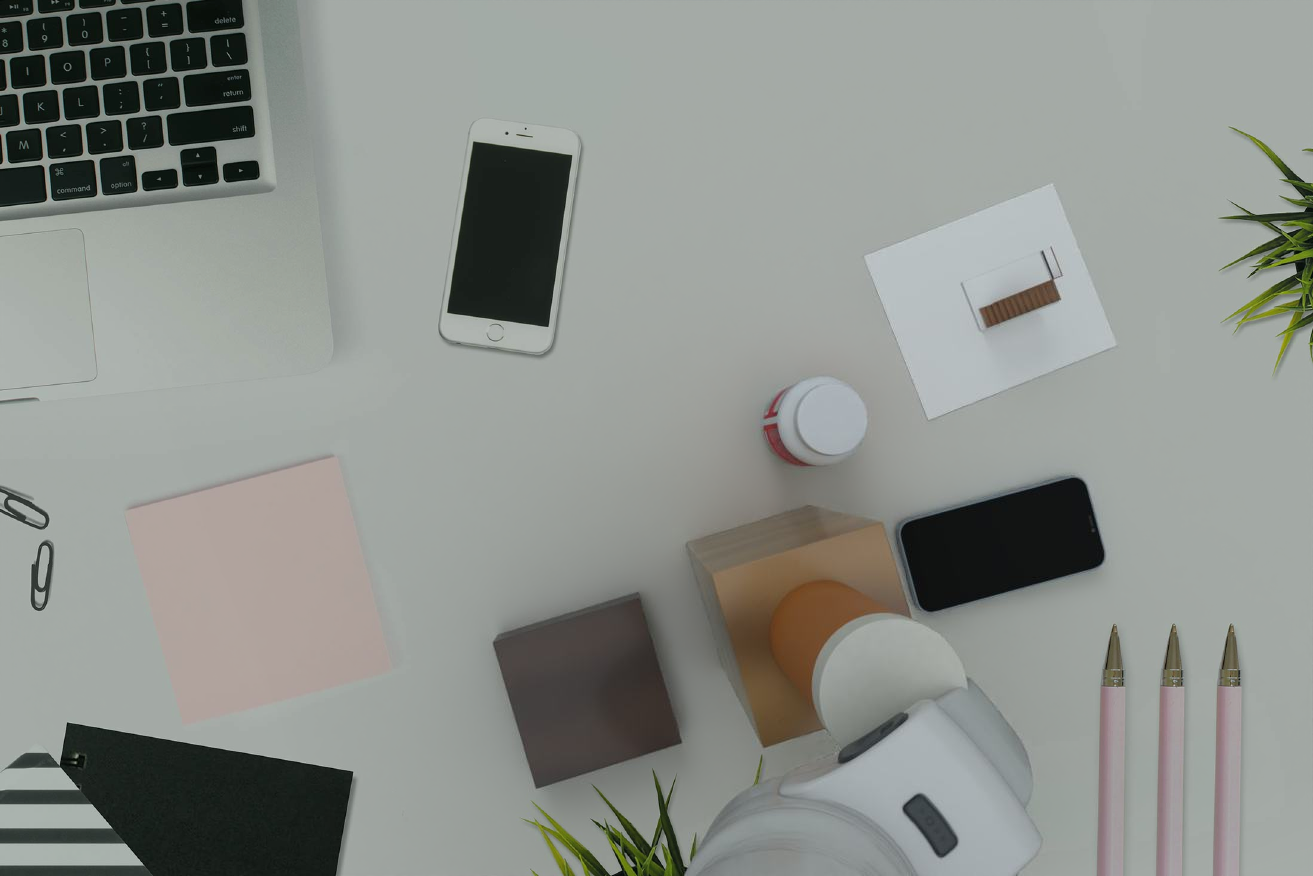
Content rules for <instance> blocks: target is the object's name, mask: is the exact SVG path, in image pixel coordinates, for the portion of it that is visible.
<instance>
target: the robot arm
mask: <svg viewBox="0 0 1313 876" xmlns="http://www.w3.org/2000/svg"><path fill="white" fill-rule="evenodd" d="M966 678H967V684H968V690H967V689H965V688H963V687H957V688H954V689H952V690H951V691H949V692H947V693H945V694H943V695H941V696H940V697H939V698H938V699H937V700H936V701H934V700H930V699H927V700H922V701H919V702H917V703H915V704H914V705H912V706H911V707H910V708H908V709H907V710H905V711H904V712H900V713H898V714H896V715H895V716H893V717H892V718H891V719H889V720H888V721H886V722H885V723H883V724H881V725H880V726H878V727H877V728H875V729H874V730H872V731H871V732H869V733H868V734H866V735H864V736H863V737H861V738H859V739H857V740H856V741H854V742H852V743H850V744H848V745H847V746H845V747H844V748H843V749H840V750H838V751H836V752H834V753H832V754H829V755H828V756H824V757H822V758H820V759H817V760H814V761H811V762H809V763H806V764H804V765H801V766H798V767H797V768H795V769H792V770H791V771H789V772H787V773H786V774H784V775H783V776H777V777H773V778H769V779H766V780H763V781H761V782H758V783H756V784H753V785H752V786H749V787H748V788H747V789H744V790H743V791H742V792H740V793H738V794H737V795H736V796H734V797H733V798H732V799H731V800H730V801H729V802H728V803H727V804H726V805H725V806H724V807H723V808H722V809H721V810H720V811H719V813H718V814H717V815H716V817H715V818H714V819H713V821H712V823H711V824H710V826H709V827H708V829H707V831H706V833H705V835H704V837H703V839H702V841H701V843H700V844H699V846H698V847H697V850H696V851H695V854H694V855H693V857H692V859H691V861H690V862H689V864H688V866H687V868H686V870H685V873H684V875H683V876H1019V874H1020V873H1021V872H1022V871H1023V870H1024V869H1025V868H1026V867H1027V866H1028V865H1030V863H1031V862H1032V861H1033V860H1034V859H1035V858H1036V857H1037V855H1038V854H1039V853H1040V851H1041V849H1042V847H1043V842H1044V841H1043V837H1042V834H1041V832H1040V831H1039V828H1038V827H1037V825H1036V824H1035V822H1034V820H1033V818H1032V817H1031V815H1030V814H1029V812H1028V811H1027V807H1028V805H1029V803H1030V801H1031V798H1032V796H1033V791H1034V776H1033V771H1032V766H1031V761H1030V758H1029V754H1028V752H1027V750H1026V748H1025V745H1024V744H1023V743H1024V742H1023V741H1022V739H1021V738H1020V737H1019V735H1018V734H1017V732H1016V731H1015V729H1014V728H1013V727H1012V726H1011V724H1010V723H1009V722H1008V720H1007V719H1006V718H1005V716H1004V715H1003V714H1002V713H1001V711H1000V710H999V709H998V707H997V706H996V705H995V704H994V702H993V701H992V700H991V699H990V698H989V697H988V695H986V693H985V692H984V690H982V688H981V687H980V686H979V684H978V683H976V682H975V681H974V679H972V678H971V676H966Z"/></svg>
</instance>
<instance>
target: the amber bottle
mask: <svg viewBox="0 0 1313 876" xmlns="http://www.w3.org/2000/svg"><path fill="white" fill-rule="evenodd" d="M770 645H771V649H772V653H773V655H774V658H775V660H776V662H777V664H778V665H779V666H780V668H781V669H782V671H783V672H784V673H785V674H786V676H787V677H788V678H789V680H790V681H791V682H792V683H793V685H794V686H795V687H796V688H797V690H798V691H799V692H800V694H801V695H802V696H803V697H804V699H805V700H806V701H807V703H808V704H809V705H810V706H811V708H812V709H813V710H814V711H815V713H816V714H817V715H818V717H819V719H820V721H821V723H822V725H823V726H824V728H825V729H824V730H825V731H826V732H827V734H828V735H829V736H830V737H831V739H832V740H833V741H834V742H835V744H836V745H837V746H838V747H839V748H840V750H842V749H843V748H844V747H845V746H847V745H848V744H850V743H852V742H854V741H856V740H857V739H859V738H861V737H863V736H864V735H866V734H868V733H869V732H871V731H872V730H874V729H875V728H877V727H878V726H880V725H881V724H883V723H885V722H886V721H888V720H889V719H891V718H892V717H893V716H895V715H896V714H898V713H900V712H904V711H905V710H907V709H908V708H910V707H911V706H912V705H914V704H915V703H917V702H919V701H922V700H927V699H930V700H934V701H936V700H937V699H938V698H939V697H940V696H941V695H943V694H945V693H947V692H949V691H951V690H952V689H954V688H957V687H963V688H965V689H967V690H968V684H967V678H966V677H967V674H966V672H965V668H964V666H963V663H962V661H961V659H960V657H959V655H958V653H957V652H956V651H955V649H954V647H953V646H952V645H951V644H950V643H949V642H948V641H947V640H946V639H945V638H944V637H943V636H942V635H941V634H940V633H938V632H937V631H935V630H934V629H932V628H931V627H928V626H927V625H926V624H923V623H921V622H920V621H918V620H916V619H913V618H912V619H911V618H909V617H906V616H902V615H900V614H898V613H896V612H895V611H893V610H891V609H889V608H887V607H885V606H884V605H882V604H880V603H878V602H876V601H874V600H873V599H871V598H869V597H867V596H865V595H863V594H862V593H860V592H858V591H856V590H854V589H852V588H851V587H849V586H847V585H844V584H842V583H839V582H835V581H829V580H819V581H813V582H808V583H806V584H803V585H801V586H799V587H797V588H795V589H794V590H792V591H791V592H790V593H789V594H787V595H786V596H785V597H784V598H783V600H782V601H781V602H780V603H779V605H778V607H777V608H776V610H775V612H774V615H773V618H772V621H771V625H770Z"/></svg>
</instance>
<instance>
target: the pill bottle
mask: <svg viewBox="0 0 1313 876" xmlns="http://www.w3.org/2000/svg"><path fill="white" fill-rule="evenodd" d="M868 417H869V416H868V411H867V407H866V405H865V403H864V401H863V400H862V398H861V397H860V395H859V394H858V392H857V391H856V390H855V389H854V388H853V387H851V385H850V384H848V383H847V382H845V381H843V380H840V379H838V378H835V377H831V376H823V375H821V376H812V377H809V378H805V379H803V380H801V381H799V382H797V383H795V384H792V385H790V386H788V387H786V388H784V389H783V390H781V391H779V392H778V393H777V394H775V395H774V396H773V397H772V398H771V399H770V400H769V402H768V403H767V405H766V407H765V409H764V412H763V414H762V418H761V419H762V421H761V432H762V437H763V439H764V442H765V444H766V447H767V448H768V450H769V451H770V452H771V454H773V455H774V456H775V457H776V458H777V459H779V460H780V461H782V462H784V463H785V464H788V465H790V466H791V465H792V466H796V467H830V466H834V465H837V464H840V463H842V462H844V461H846V460H848V459H849V458H851V457H852V456H853V455H854V454H855V453H856V452H857V450H858V449H859V448H860V447H861V445H862V443H863V441H864V438H865V437H866V432H867V429H868V424H869V418H868Z"/></svg>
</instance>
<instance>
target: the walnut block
mask: <svg viewBox="0 0 1313 876" xmlns="http://www.w3.org/2000/svg"><path fill="white" fill-rule="evenodd" d="M643 607H644V606H643V604H642V601H641V597H640V594H639V592H633V593H630V594H627V595H624V596H623V595H622V596H620V597H617V598H614V599H610V600H608V601H607V600H606V601H604V602H601V603H597V604H594V605H591V606H588V607H584V608H581V609H578V610H574V611H571V612H568V613H564V614H561V615H558V616H555V617H551V618H548V619H544V620H542V621H539V622H538V621H537V622H535V623H532V624H529V625H525V626H521V627H519V628H515V629H512V630H508V631H506V632H502V633H499V634H497V635H496V637H495V639H494V640H493V641H492V646H493V648H494V652H495V656H496V659H497V662H498V667H499V669H500V673H501V675H502V679H503V682H504V687H505V690H506V693H507V696H508V699H509V700H508V701H509V703H510V707H511V709H512V714H513V717H514V720H515V723H516V727H517V731H518V733H519V737H520V740H521V744H522V747H523V750H524V753H525V757H526V761H527V764H528V767H529V771H530V774H531V777H532V780H533V784H534V787H535V789H536V790H537V789H540V788H544V787H547V786H551V785H554V784H558V783H560V782H563V781H566V780H569V779H573V778H577V777H579V776H582V775H586V774H589V773H592V772H596V771H599V770H601V769H605V768H607V767H611V766H614V765H617V764H620V763H624V762H627V761H631V760H634V759H637V758H640V757H643V756H645V755H646V756H647V755H649V754H653V753H656V752H659V751H662V750H665V749H669V748H671V747H675V746H678V745H681V744H683V740H682V736H681V732H680V728H679V725H678V721H677V718H676V715H675V711H674V708H673V705H672V701H671V699H670V694H669V690H668V688H667V685H666V680H665V678H664V675H663V670H662V667H661V664H660V661H659V658H658V654H657V652H656V648H655V644H654V640H653V638H652V635H651V631H650V628H649V624H648V621H647V618H646V613H645V610H644V608H643Z"/></svg>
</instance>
